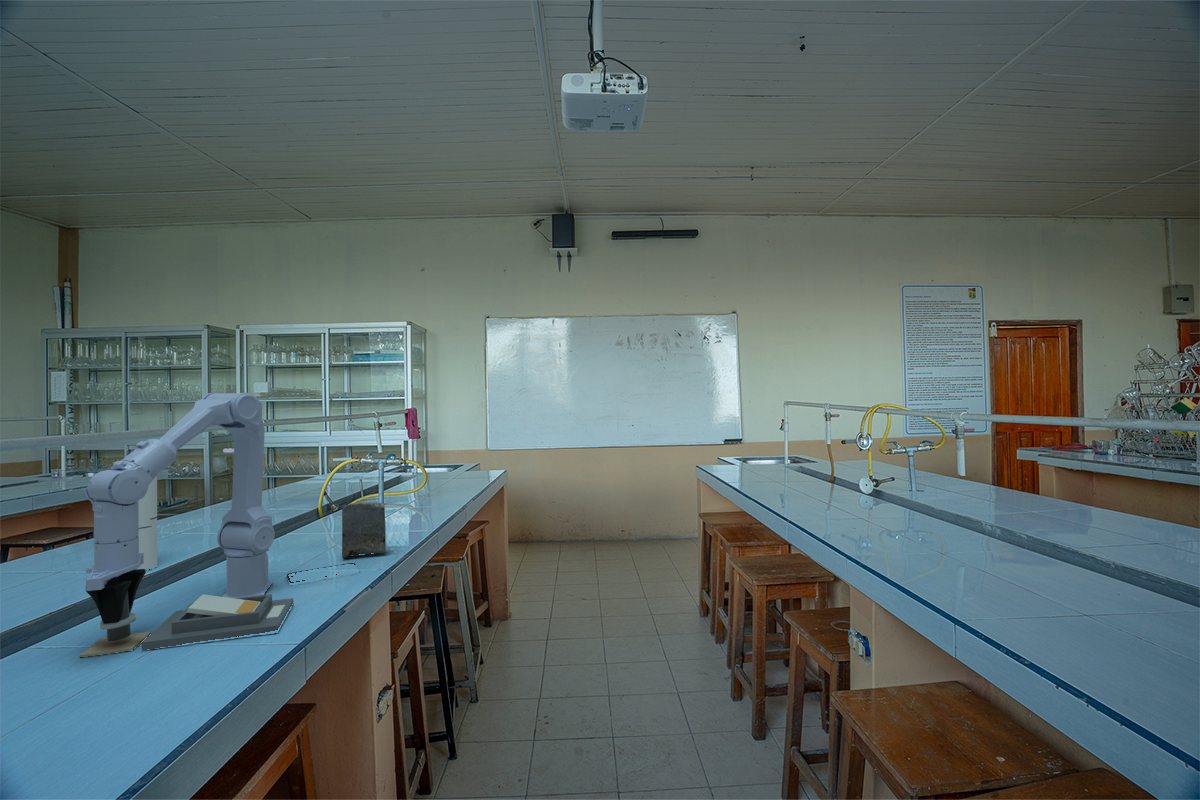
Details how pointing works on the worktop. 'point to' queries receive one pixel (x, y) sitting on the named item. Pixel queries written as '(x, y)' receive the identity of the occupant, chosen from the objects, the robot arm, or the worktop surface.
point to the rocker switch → (222, 605)
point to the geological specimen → (363, 528)
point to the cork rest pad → (115, 645)
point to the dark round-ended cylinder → (120, 624)
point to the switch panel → (219, 624)
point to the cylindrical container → (148, 526)
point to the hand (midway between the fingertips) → (117, 618)
